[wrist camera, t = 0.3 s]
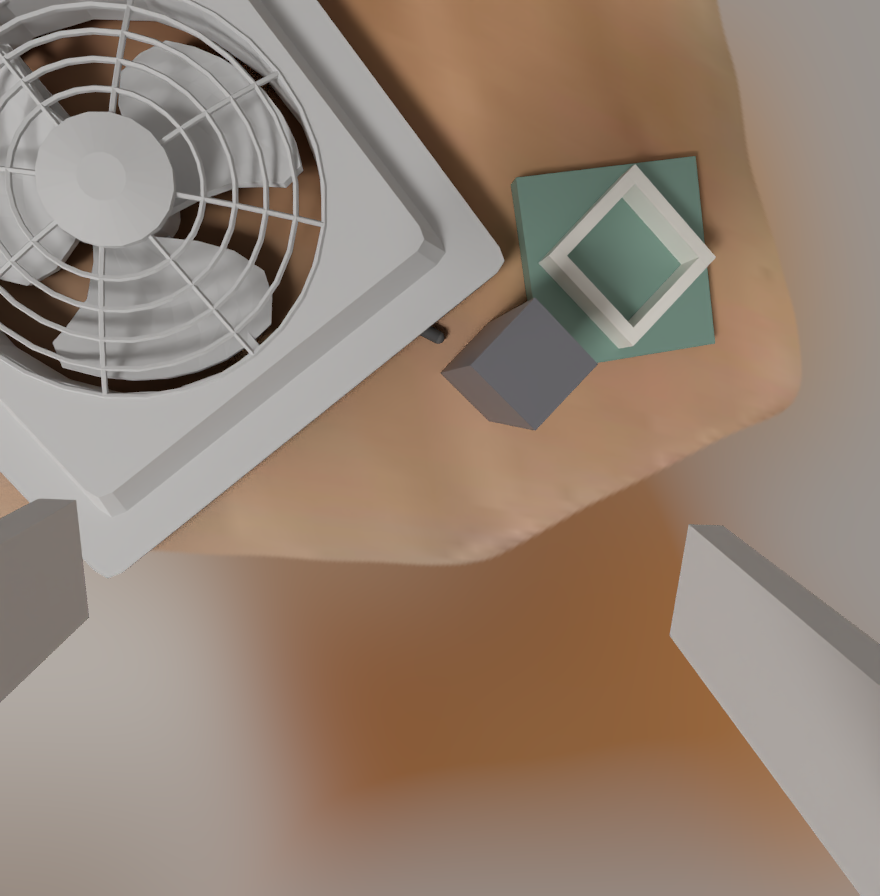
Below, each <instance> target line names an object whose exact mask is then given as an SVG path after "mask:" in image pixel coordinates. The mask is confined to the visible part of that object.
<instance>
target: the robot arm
mask: <svg viewBox="0 0 880 896" xmlns="http://www.w3.org/2000/svg"><path fill="white" fill-rule="evenodd" d="M88 618H89V613H88V604H87V595H86V586H85V577H84V568H83V558H82V549H81V540H80V531H79V522H78V512H77V503H76V500H64V499H37V500H35V501H33V502H31V503H29V504H27V505H25V506H23V507H21V508H19V509H18V510H16V511H14V512H12V513H10V514H8V515H6V516H4V517H2V518H0V702H1V701H2V700H3V699H4V698H5V697H6V696H7V695H8V694H9V693H10V692H12V691H13V690H14V689H15V688H16V687H17V686H18V685H19V684H20V683H21V682H22V681H23V680H24V679H25V678H26V677H27V676H28V675H29V674H30V673H31V672H32V671H33V670H35V669H36V668H37V667H38V666H39V665H40V664H41V663H42V662H43V661H44V660H45V659H46V658H47V657H48V656H49V655H50V654H51V653H52V652H53V651H54V650H55V649H56V648H57V647H59V645H61V644H62V643H63V642H64V641H65V640H66V639H67V638H68V637H69V636H70V635H71V634H72V633H73V632H74V631H75V630H76V629H77V628H78V627H79V626H80V625H82V624H83V623H84V622H85V621H86V620H87V619H88ZM670 637H671V638H672V639H673V641H674V642H675V643H676V645H677V646H678V648H679V649H680V650H681V652H682V653H683V654H684V656H685V657H686V658H687V660H688V661H689V662H690V664H691V665H692V667H693V668H694V669H695V671H696V672H697V674H698V675H699V676H700V678H701V679H702V680H703V682H704V683H705V684H706V686H707V687H708V688H709V690H710V691H711V692H712V694H713V695H714V696H715V698H716V699H717V701H718V702H719V703H720V705H721V706H722V708H723V709H724V710H725V711H726V713H727V714H728V716H729V717H730V718H731V720H732V721H733V722H734V724H735V725H736V727H737V728H738V729H739V730H740V732H741V733H742V735H743V736H744V737H745V739H746V740H747V741H748V743H749V744H750V746H751V747H752V748H753V750H754V751H755V752H756V754H757V755H758V757H759V758H760V759H761V760H762V762H763V763H764V765H765V766H766V767H767V769H768V770H769V772H770V773H771V774H772V776H773V777H774V778H775V780H776V781H777V782H778V784H779V785H780V786H781V788H782V789H783V791H784V792H785V793H786V795H787V796H788V797H789V799H790V800H791V801H792V803H793V804H794V805H795V807H796V808H797V810H798V811H799V812H800V814H801V815H802V816H803V818H804V819H805V821H806V822H807V823H808V825H809V826H810V827H811V829H812V830H813V831H814V832H815V834H816V835H817V837H818V838H819V840H820V841H821V842H822V844H823V845H824V846H825V847H826V849H827V850H828V852H829V853H830V854H831V856H832V857H833V858H834V860H835V861H836V863H837V864H838V865H839V867H840V868H841V869H842V871H843V872H844V874H845V875H846V876H847V877H848V879H849V880H850V881H851V883H852V884H853V886H854V887H855V888H856V890H857V891H858V892H859V894H860V895H861V896H880V644H879V643H878V642H876V641H875V640H874V639H872V638H871V637H870V636H868V635H867V634H866V633H864V632H863V631H862V630H860V629H859V628H858V627H856V626H855V625H854V624H852V623H851V622H850V621H848V620H847V619H846V618H844V617H843V616H841V614H839V613H838V612H837V611H835V610H834V609H833V608H831V607H830V606H828V605H827V604H826V603H824V602H823V601H822V600H821V599H819V598H818V597H817V596H815V595H814V594H813V593H811V592H810V591H809V590H807V589H806V588H805V587H803V586H802V585H801V584H799V583H798V582H796V581H795V580H794V579H793V578H791V577H790V576H789V575H787V574H786V573H785V572H783V571H782V570H781V569H779V568H778V567H777V566H776V565H774V564H773V563H772V562H770V561H769V560H768V559H766V558H765V557H764V556H762V555H761V554H759V553H758V552H757V551H756V550H754V549H753V548H752V547H750V546H749V545H748V544H746V543H745V542H744V541H743V540H741V539H740V538H739V537H737V536H736V535H735V534H733V533H732V532H731V531H729V530H728V529H726V528H725V527H724V526H719V525H717V526H716V525H694V524H693V525H692V524H689V526H688V532H687V538H686V544H685V550H684V555H683V561H682V567H681V572H680V578H679V584H678V590H677V596H676V601H675V607H674V613H673V619H672V625H671V630H670Z"/></svg>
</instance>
